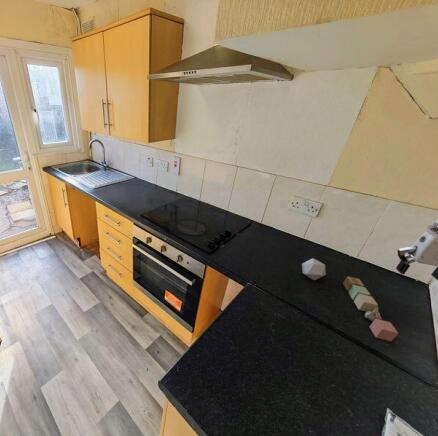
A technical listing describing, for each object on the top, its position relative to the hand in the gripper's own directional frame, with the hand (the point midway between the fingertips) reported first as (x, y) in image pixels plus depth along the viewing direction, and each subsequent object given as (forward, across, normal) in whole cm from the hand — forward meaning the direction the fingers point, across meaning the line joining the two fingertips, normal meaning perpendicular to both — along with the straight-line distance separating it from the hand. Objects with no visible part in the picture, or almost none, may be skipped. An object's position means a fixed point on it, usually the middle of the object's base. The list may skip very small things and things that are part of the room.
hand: (417, 274), depth 77 cm
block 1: (+21, -6, +13) cm, 25 cm away
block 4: (+21, -7, -10) cm, 24 cm away
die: (+20, -21, +16) cm, 34 cm away
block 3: (+21, -6, +2) cm, 22 cm away
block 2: (+21, -6, +8) cm, 23 cm away
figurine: (+21, -6, -4) cm, 22 cm away
